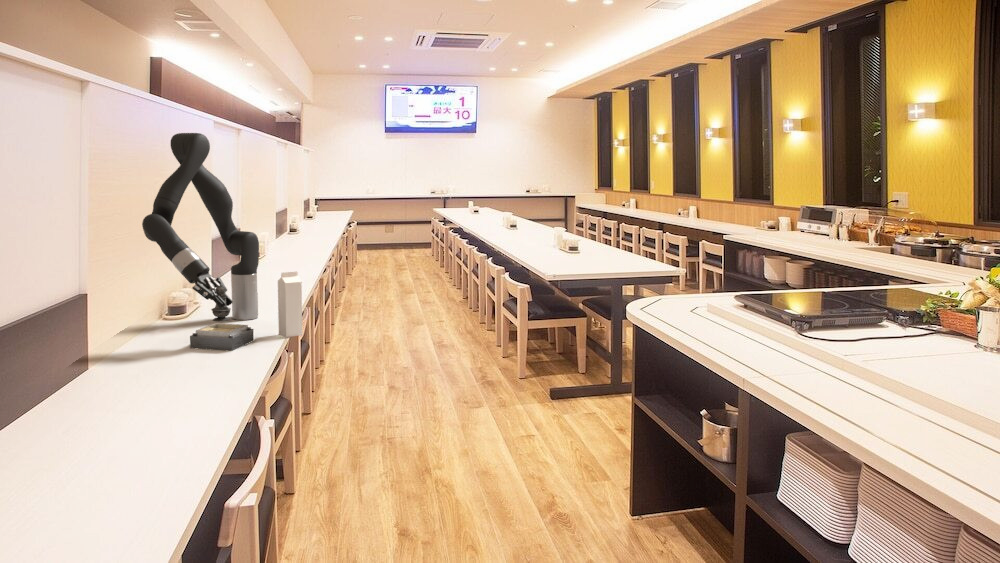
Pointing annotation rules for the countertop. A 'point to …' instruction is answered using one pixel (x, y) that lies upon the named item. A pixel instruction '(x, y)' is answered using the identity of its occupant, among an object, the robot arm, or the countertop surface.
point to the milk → (290, 304)
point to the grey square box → (221, 337)
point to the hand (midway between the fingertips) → (227, 304)
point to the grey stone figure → (221, 312)
